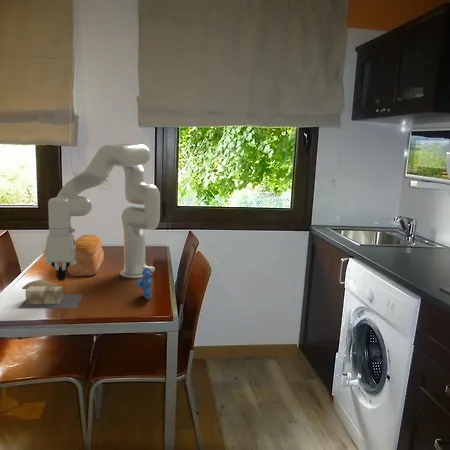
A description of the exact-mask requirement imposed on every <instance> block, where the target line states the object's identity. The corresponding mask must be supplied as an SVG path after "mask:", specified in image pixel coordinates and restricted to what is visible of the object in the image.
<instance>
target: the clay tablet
mask: <svg viewBox="0 0 450 450" xmlns="http://www.w3.org/2000/svg"><path fill="white" fill-rule="evenodd" d="M30 286H60V285H59V284H56V283H52V282H50V281H48V280H45V279H37V280H33V281H30V282H28V283H26V284H25V285H24V286H22V287H21V288H22V289H24V290H25V291H26V290H27V289H28V288H29V287H30Z"/></svg>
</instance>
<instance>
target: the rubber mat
mask: <svg viewBox="0 0 450 450" xmlns="http://www.w3.org/2000/svg"><path fill="white" fill-rule="evenodd" d="M83 295H84V294H63V300H62V301H61V303H60V304H26V299H25V300H24V301H23V302H22V303H21V304H20V306H19V307H18V309H76V308H77V307H78V305H79V303H80V301H81V299H82V297H83Z"/></svg>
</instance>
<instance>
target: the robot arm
mask: <svg viewBox="0 0 450 450" xmlns="http://www.w3.org/2000/svg"><path fill="white" fill-rule="evenodd" d="M150 158H151V151H150V149H149V147H148V146H146V145H145V144H141V143H127V142H126V143H117V144H104V145H101V146H100V148H99V149H98V150H97V152H96V153H95V155H94V156H93V158H92V159H91V160H90V162H89V164H88V165H87V166H86V168H85V170H83V171H82V172H80V173H78V174H77V175H75V176H74V177H73V178H70V180H68V181H67V182H66V183H65V184H64V185H63V186H62V188H61V189H60V190H59V192H58V194H57V195H56V196H55V197H52V198H50V199H49V200H48V202H47V203H48V204H47V206H48V207H47V208H48V232H49V233H48V234H47V236H46V243H45V265H48V266H51V267H53V268H54V269H55V271H56V278H57V280H58V282H59V281H64V280H65V279H66V278H67V269H68V266H70V265H75V264H76V259H75V258H76V246H75V241H76V239H75V235H74V234H73V233H76V228H73V227H72V221H71V220H72V219H71V217H84V216H86V215H88V214H89V213H90V212H91V211H92V206H93V205H92V202H91V200H90V199H89V198H88V197H86V196H82V195H80V194H81V193H83V192H84V191H87V190H89V189H92V188H96V187H98V186H101V185H103V184H104V183H105V181H106V180H107V178H108V176H109V175H110V174H111V172H112V170H113V169H114V167H119V168H121V167H122V169H123V171H124V195H125V196H124V197H125V200H126V201H127V202H128V203H130V204H135V205H141V206H134V205H133V206H127V207H126V208H124V209H123V211H122V212H121V223H122V227H123V269H122V270H121V271H120V276H121V277H124V278H127V279H142V277H143V275H144V274H143V273H142V272H143V270H144V269H145V268H146V267H148V268H149V269H150V270H151V272H155V271H156V268H155V266H152V265H150V266H149V265H147V263H146V234H145V231H144V230H146V231H155V230H156V229H157V228H158V226H159V225H160V218H161V193H160V190H159V188H158V187H157V186H156V185H154V184H151V183H146V181H145V170H144V167H143V166H144V165H146V164H147V163H148V162H149V161H150ZM143 206H144V207H143ZM61 263H62V267H61Z"/></svg>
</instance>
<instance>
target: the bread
mask: <svg viewBox="0 0 450 450" xmlns="http://www.w3.org/2000/svg"><path fill="white" fill-rule="evenodd" d="M75 246H76V258H75V259H76V264H75V265H70V266H68V267H67V273H68V275H69V276H71V277H72V276H73V277H88V276H93V275H96V273H98V271H99V269H100V267H101V266H102V264H103V262H104V256H105V252H104V249H103V248H102V241H101V239H100V237H99V236H97V235H94V234H84V235H81V236H80V237H78V238H77V239H75Z"/></svg>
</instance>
